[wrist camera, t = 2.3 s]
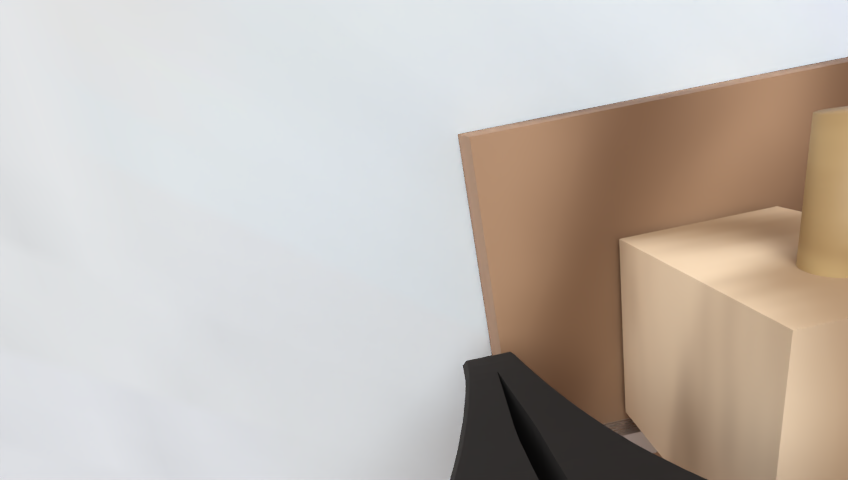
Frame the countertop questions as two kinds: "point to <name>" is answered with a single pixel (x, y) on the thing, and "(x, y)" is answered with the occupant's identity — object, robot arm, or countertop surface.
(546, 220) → the walnut board
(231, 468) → the countertop surface
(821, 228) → the beige peg block
